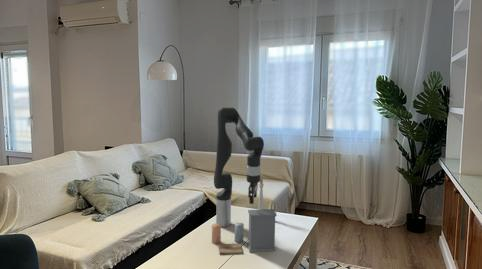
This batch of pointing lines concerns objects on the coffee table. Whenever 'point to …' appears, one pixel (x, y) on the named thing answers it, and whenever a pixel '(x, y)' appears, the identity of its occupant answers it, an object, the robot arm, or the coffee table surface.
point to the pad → (230, 249)
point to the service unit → (261, 230)
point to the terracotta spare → (216, 233)
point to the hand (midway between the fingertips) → (253, 200)
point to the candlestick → (261, 193)
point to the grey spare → (239, 232)
